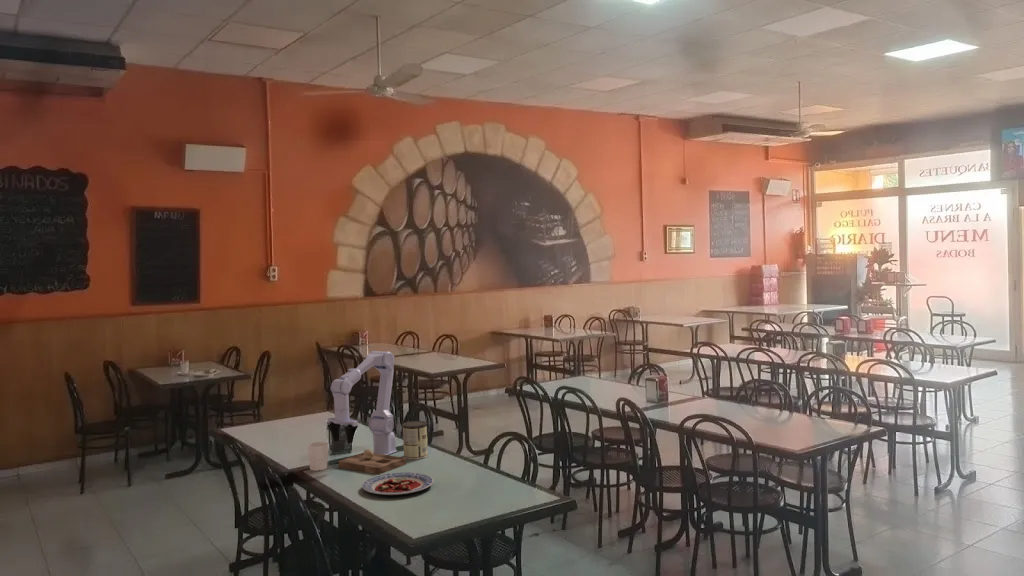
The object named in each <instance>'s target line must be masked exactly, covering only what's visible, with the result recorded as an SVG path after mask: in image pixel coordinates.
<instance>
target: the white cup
mask: <svg viewBox="0 0 1024 576" xmlns="http://www.w3.org/2000/svg"><path fill="white" fill-rule="evenodd" d="M328 446H329V443H328V442H326V441H315V442H309V443H308V444H307V451H308V452H307V455H308V463H309V469H310V471H313V472H317V471H318V472H320V471H325V470H327V469H328V459H329V457H328V456H329V453H328V452H329V447H328ZM319 470H320V471H319Z"/></svg>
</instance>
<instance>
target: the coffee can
mask: <svg viewBox="0 0 1024 576" xmlns="http://www.w3.org/2000/svg"><path fill="white" fill-rule="evenodd" d="M427 425H428V422H427V421H424V420H412V421H405V422H403V423H402V440H403V442H402V444H403V445H402V446H403V458H406V460H413V461H414V460H415V461H416V460H421V459H426V458H427V457H428V456H429V452H428V449H429V448H428V446H429V445H428V426H427Z"/></svg>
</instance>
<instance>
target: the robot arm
mask: <svg viewBox="0 0 1024 576" xmlns="http://www.w3.org/2000/svg"><path fill="white" fill-rule="evenodd" d="M395 358H396V357H395V355H394V354H393V353H392V351H391V352H390V351H381V350H380V351H379V350H372V351H370V352H369V353H367V354H366V358H364V360H363V361H362V362H361V363H360V364H359V365H357V367H356V368H349V369H347V372H346V373H344V374H343V375H341V376H340V377H339V378H336V379H334V380H333V381H332V382H331V385H330V387H329V388H330V391H331V393H332V397H333V403H334V404H333V405H334V407H333V408H334V417H329V418H327V423H328V425H327V428H328V430H329V431H330V433H331V435H332V439H333V441H334V442H335V443H336V442H339V440H340V429H341V425H344V430H345V434H346V440H347V441H346V442H347V444H348V445H351V444H354V443H353V442H354V437H355V435H356V434H355V433H356V431H357V429H358V427H359V426H358V420H355V419H352V418H350V400H349V399H350V398H349V397H350V396H349V394H350V393H351V391H352V387H353V386H354V385H355V384H357V383H358V381H360V380H361V378H362V375H363V374H364V373H366V372H367V371H369V369H371V368H372V367H373V368H375V369H376V370H378V372H379V373H380V375H379V376H380V377H379V384H378V392H377V401H376V409H375V410H374V411H373V412H372V413H371V415H370V419H369V421H368V428H369V430H370V431H371V434H372V440H373V441H372V442H373V443H372V444H373V453H377V454H383V455H391V454H394V453H397V452H398V450H397V444H396V436H395V433H394V432H393V429H394V428H395V427H394V426H395V424H394V423H395V422H394V415H393V414H392V413H391V411H390V404H391V403H390V402H391V396H392V388H393V380H394V374H395V373H394V371H395V370H394V367H395Z"/></svg>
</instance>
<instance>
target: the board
mask: <svg viewBox="0 0 1024 576" xmlns="http://www.w3.org/2000/svg"><path fill="white" fill-rule="evenodd" d="M363 453H364V452H362V453H358V454H355V455H352V456H349V457H346V458H344V459H340V460H338V468H342V469H348V470H354V471H359V472H364V473H371V474H375V475H376V474H377V475H382V474H385V473H387V472H389V471H392V470H394V469H397V468H400V467H401V466H406V465H407V459H406V458H404V456H403V457H402V456H396V455H391V454H389V455H383V454H377V453H373V457H372V458H371V459H366V458H365V457H364V455H363ZM381 473H382V474H381Z"/></svg>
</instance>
